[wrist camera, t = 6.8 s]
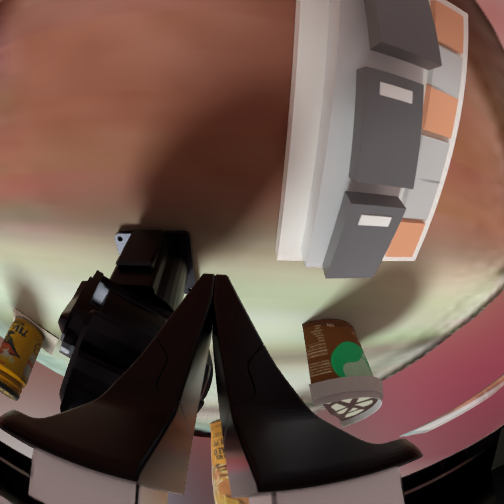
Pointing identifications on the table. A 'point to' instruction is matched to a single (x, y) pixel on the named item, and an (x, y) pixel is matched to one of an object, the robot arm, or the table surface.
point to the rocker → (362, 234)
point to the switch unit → (342, 121)
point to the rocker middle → (386, 129)
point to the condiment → (21, 353)
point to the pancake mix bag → (221, 469)
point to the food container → (340, 371)
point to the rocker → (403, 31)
